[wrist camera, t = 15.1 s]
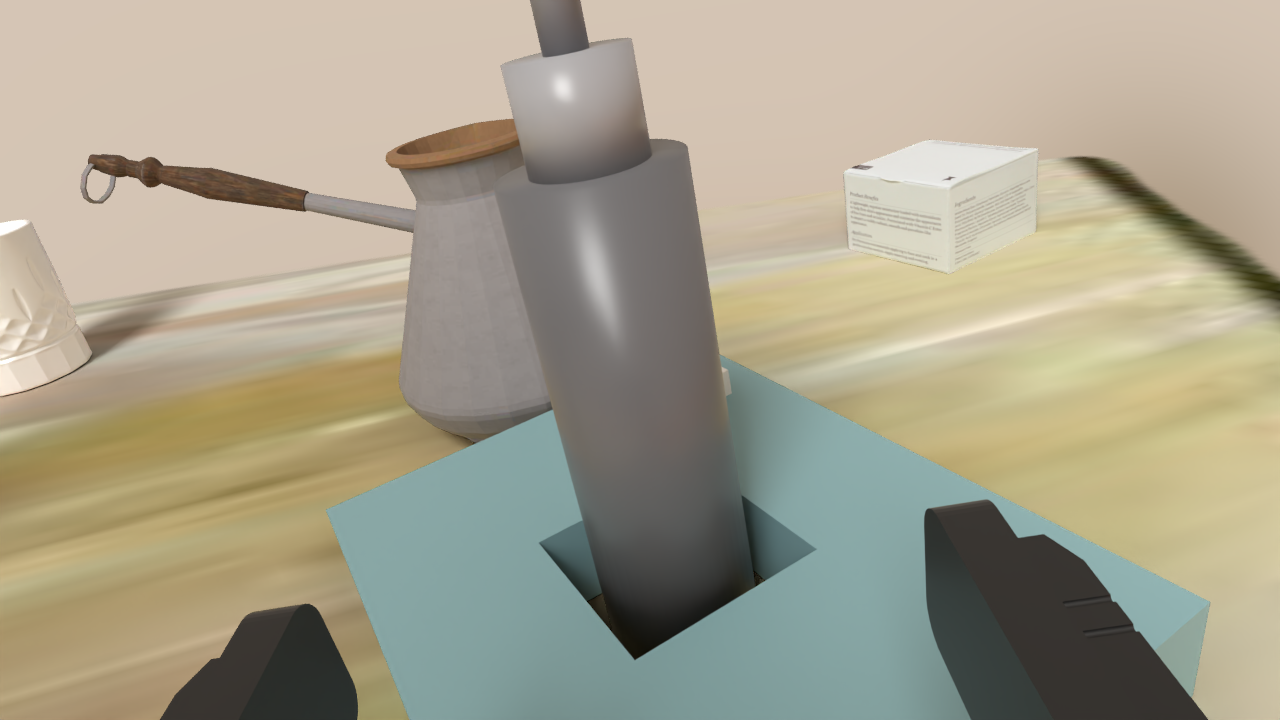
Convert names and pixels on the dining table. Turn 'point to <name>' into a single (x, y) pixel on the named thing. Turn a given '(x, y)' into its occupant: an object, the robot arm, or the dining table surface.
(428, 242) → the coffee pot
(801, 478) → the socket plate
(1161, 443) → the dining table surface
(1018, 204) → the small box
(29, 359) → the white cup
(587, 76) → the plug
